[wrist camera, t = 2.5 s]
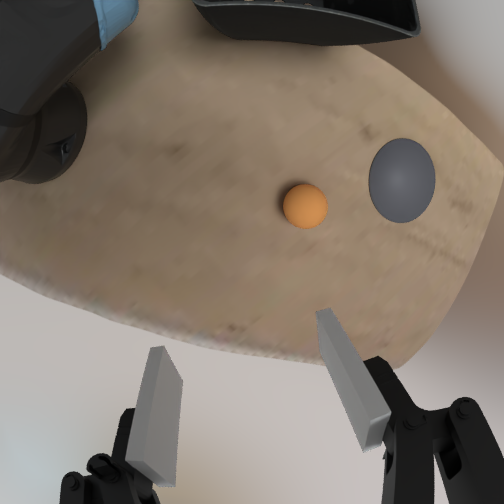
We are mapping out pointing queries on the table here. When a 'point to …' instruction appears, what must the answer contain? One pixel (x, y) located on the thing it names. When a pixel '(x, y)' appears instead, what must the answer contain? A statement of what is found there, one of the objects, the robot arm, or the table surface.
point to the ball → (305, 206)
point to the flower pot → (314, 20)
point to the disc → (402, 180)
